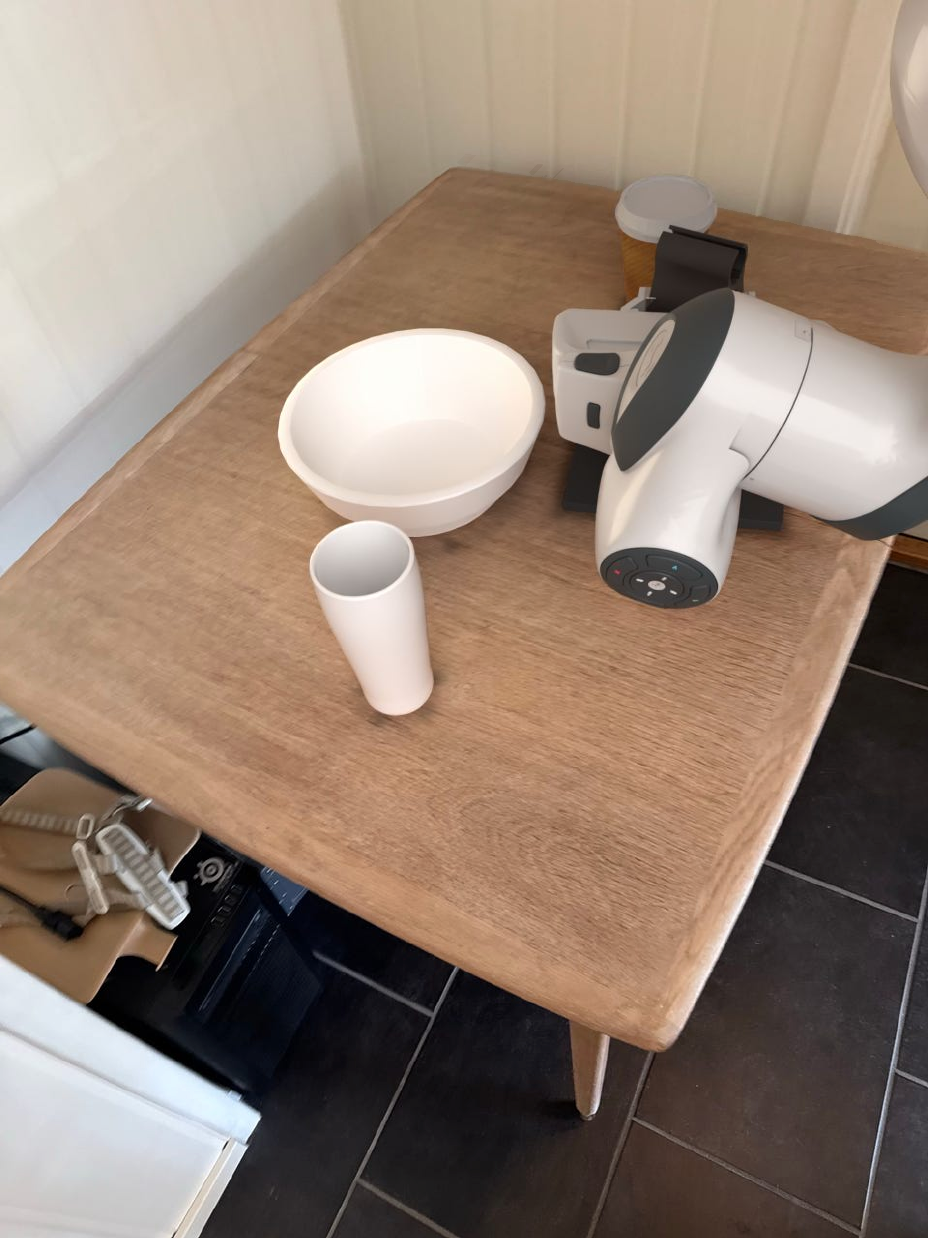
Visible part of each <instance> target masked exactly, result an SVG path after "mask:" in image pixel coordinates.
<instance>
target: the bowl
mask: <svg viewBox="0 0 928 1238" xmlns="http://www.w3.org/2000/svg"><path fill="white" fill-rule="evenodd" d="M544 389H545V388H544V385H543V383H542V381H541V380H540V377H539V375H538V373H537V371H536V369H534V367H533V366H532V365H531V364H530V363H529V362H528V361H527V360H526V359H525V358H524V356H522V355H521V354H520V353H519V352H517V351H515V349H513V348H511V347H510V346H508V345H507V344H505V343H502V342H501V341H498V340H496V339H493V338H492V337H489V336H486V335H482V334H479V333H475V332H471V331H467V330H459V329H452V328H445V327H441V328H440V327H439V328H438V327H437V328H436V327H435V328H430V327H429V328H427V327H425V328H422V327H421V328H412V329H405V330H396V331H392V332H388V333H383V334H379V335H376V336H375V335H374V336H371V337H369V338H366V339H364V340H361V341H358V342H355V343H353V344H350V345H348V346H346V347H344V348H342V349H340V350H339V351H336V352H335V353H333V354H330V355H329V356H328V357H326V358H325V359H323V360H322V361H321V362H320V363H318V364H316V365H315V366H313V367H312V368H311V369H310V370H309V371H308V372H307V373H306V374H305V375H304V376H303V377H302V378H301V379H300V380H299V381H298V382H297V383H296V385H295V386H294V388H292V391H291V392H290V394H289V395H288V396H287V398H286V401H285V403H284V405H283V407H282V409H281V413H280V415H279V421H278V429H277V430H278V431H277V437H278V442H279V448H280V452H281V454H282V456H283V457H284V460H285V461H286V463H287V465H288V467H289V468H290V469H291V470H292V471H293V473H295V475H296V476H297V477H298V478H299V479H300V480H301V482H303V483H304V484H305V485H306V487H308V489H310V491H311V492H312V493H313V494H314V495H315V496H316V497H317V498H318V499H319V500H320V502H322V503H323V504H324V505H325V507H327V508H328V509H330V510H331V511H333V512H334V513H336V514H338V515H339V516H341V517H342V518H344V519H346V520H350V521H352V522H356V521H363V520H377V521H383V522H387V523H390V524H392V525H395V526H397V527H398V528H400V529H401V530H402V531H404V532H405V533H406V534H407V536H408V537H409V538H420V537H429V536H436V535H441V534H443V533H448V532H451V531H454V530H456V529H458V528H461V527H463V526H465V525H467V524H469V523H471V522H472V521H474V520H476V519H477V518H479V517H480V516H482V515H483V514H484V513H485V512H486V511H488V509H489V508H491V507H492V506H493V505H494V503H495V502H496V501H497V500H498V499H499V498H500V497H502V496H503V495H505V493H506V492H508V490H510V489H511V488H512V487H513V485H514V484H515V483H516V482H517V480H518V479H519V477H520V476H521V475H522V474H523V472H524V469H525V467H526V466H527V463H528V462H529V461H528V460H529V459H530V457H531V453H532V451H533V448H534V445H535V444H536V441H537V438H538V436H539V434H540V431H541V429H542V426H543V424H544V420H545V414H546V405H547V402H546V394H545V390H544Z"/></svg>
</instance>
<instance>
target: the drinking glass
mask: <svg viewBox="0 0 928 1238" xmlns="http://www.w3.org/2000/svg"><path fill="white" fill-rule="evenodd" d="M308 568H309V575H310V579H311V580H312V581H311V582H312V584H313V588H314V591H315V595H316V597H317V600H318V603H319V606H320V609H321V611H322V613H323V617H324V618H325V620H326V623H327V625H328V626H329V629H330V630H331V632H332V634H333V637H334V638H335V640H336V641H337V643H338V646H339V647H340V649H341V650H342V652H343V654H344V656H345V658H346V660H347V662H348V664H349V666H350V667H351V668H350V669H352V672H353V674H354V675H355V677H356V679H357V681H358V683H359V685H360V687H361V690H362V692H363V695H364V698H365V699H366V701H367V703H368V704H369V706H371V707H372V708H373V709H374V710H375V711H377V712H379V713H381V714H384V715H387V716H403V715H408V714H411V713H413V712H416V711H417V710H418V709H420V708H421V707H422V706H424V705H425V703H427V702H428V700H429V699H430V697H431V695H432V693H433V690H434V685H435V678H434V672H433V668H432V662H431V652H430V642H429V631H428V618H427V606H426V596H425V595H426V594H425V589H424V583H423V578H422V573H421V569H420V565H419V562H418V558H417V555H416V551H415V549H414V544H413V542H412V540H411V537H408V536H407V534H406V533H405V532H404V531H402V530H401V529H400V528H398V527H397V526H395V525H392V524H390V523H387V522H383V521H377V520H363V521H356V522H355V521H352V522H348V523H346V524H343V525H341V526H338V527H337V528H335V529H333V530H332V531H330V532H329V533H327V534H326V535H325V536H323V538H322V539H320V541H319V542H318V543H317V545H316V546H315V547H314V549H313V551H312V553H311V556H310V559H309V567H308Z"/></svg>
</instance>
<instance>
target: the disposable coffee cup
mask: <svg viewBox="0 0 928 1238" xmlns="http://www.w3.org/2000/svg"><path fill="white" fill-rule="evenodd" d="M717 214H718V204H717V203H716V200H715V194H714V191H713V189H712V188H711V186H709V184H707V183H706V182H704V181H703V180H701V179H699V178H696V177H693V176H689V175H684V174H677V173H673V174H672V173H671V174H670V173H665V174H663V173H662V174H655V175H651V176H646V177H643V178H640V179H637V180H636V181H634V182H632V183H630V184H629V185H628V186H626V187H625V188H624V189H623V190H622V192H621V195H620V198H619V201H618V202H617V204H616V205H615V209H614V216H615V217H614V218H615V220H616V222H617V224H618V228H619V233H620V246H621V255H622V256H621V257H622V269H623V280H624V290H625V291H624V292H625V304H627V303H629V302H630V301H632V300H633V299H635V298H636V297H638V293H639V288H640V287H651V286H652V282H653V277H654V271H655V253H656V248H657V244H658V241H659V239H660V236H661V234H662V232H663V231H666V232H670V233H672V230H671V229H669V225H674V226H678V227H682V228H686V229H690V230H694V231H698V232H702V233H706V234H709V231H710V227H711V226H712V225H713V222H714V221H715V219H716V218H717Z"/></svg>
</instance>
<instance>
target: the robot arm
mask: <svg viewBox="0 0 928 1238" xmlns="http://www.w3.org/2000/svg"><path fill="white" fill-rule="evenodd" d="M889 62H890V63H889V89H890V91H889V93H890V100H891V110H892V115H893V121H894V124H895V129H896V133H897V136H898V139H899V143H900V146H901V149H902V151H903V154H904V156H905V159H906V162H907V163H908V166H909V169H910V170H911V172H912V175H913V177H914V179H915V181H916V182H917V184H918V186H919V188H920V189H921V191H922V193H923V194H924V196H925V197H926V198H927V200H928V0H902V1H901V3H900V6H899V9H898V13H897V16H896V20H895V24H894V30H893V36H892V43H891V48H890V61H889ZM650 291H651V287H640V288H639V293H638V297H636V298H635V299H633V300H632V301H630V302H629V303H625V304H624V305H623V306H620V310H617V309H596V308H595V309H593V308H590V309H589V308H579V307H578V308H577V307H575V308H574V307H571V308H567V309H565V310H563V311H562V312H560V313H557V314H556V316H555V318H554V321H553V326H552V335H551V341H552V342H551V348H552V349H551V366H552V367H551V369H552V390H553V396H554V405H555V406H554V407H555V417H556V423H557V424H556V425H557V430H558V434H559V436H560V437H561V438H562V439H564V440H565V441H569V442H572V443H575V444H576V443H578V444H581V445H584V446H587V447H590V448H593V449H596V450H599V451H601V452H604V453H606V454H609V455H610V457H609V458H608V460H607V462H606V464H605V467H604V470H603V474H602V478H601V483H600V489H599V495H598V503H597V511H596V513H595V524H594V557H595V566H596V569H597V572H598V573H597V574H598V575H599V577H600V579H601V580H602V581H603V582H604V583H605V584H606V585H607V587H608V588H609V589H612V590H613V591H614V592H615V593H617V594H619V595H621V596H622V597H626V598H628V599H630V600H632V601H635V602H639V603H641V604H644V605H646V606H647V605H648V606H650V607H655V608H658V609H663V610H686V609H693V608H696V607H701V606H704V605H705V604H709V603H710V602H711V601H713V600H714V599H715V598H716V597H718V595H719V594H720V593H721V591H722V588H723V587H724V585H725V580H726V578H727V575H728V571H729V568H730V565H731V561H732V556H733V553H734V552H733V551H734V548H735V543H736V537H737V530H738V527H737V525H738V518H739V510H740V501H741V490H742V489H744V490H747V491H749V492H752V493H755V494H757V495H760V496H763V497H765V498H768V499H771V500H773V501H776V502H779V503H781V504H783V506H787V507H788V508H792V509H795V510H797V511H800V512H803V513H805V514H807V515H809V516H811V517H812V518H814V519H815V520H817V521H820V522H822V523H824V524H826V525H828V526H830V527H832V528H835V529H836V530H839V531H840V532H843V533H845V534H846V535H849V536H852V537H854V538H856V539H857V540H860V541H865V542H872V541H874V542H875V541H880V540H882V539H883V540H884V539H887V538H889V537H893V536H896V535H899V534H901V533H905V532H907V531H909V530H911V529H913V528H915V527H918V526H919V525H921V524H923V523H925V522H927V521H928V354H911V353H904V352H898V351H893V350H889V349H887V348H883V347H880V346H878V345H875V344H873V343H870V342H867V341H865V340H862V339H860V338H857V337H855V336H853V335H849V334H847V333H845V332H842V331H839V330H837V329H836V328H835V327H834V326H832V325H830V324H829V323H828V322H827V321H825V320H823V319H822V320H821V319H809V318H808V317H806V316H804V315H802V314H799V313H797V312H794V311H792V310H789V309H786V308H783V307H781V306H778V305H777V304H776V305H775V304H774V303H771V302H768V301H765V300H762V299H760V298H757V297H756V291H754V290H753V291H751V290H750V291H749V290H747V291H745V290H744V291H743V292H742V293H741V292H737V291H734V290H731V289H730V288H721V289H717V290H714V291H710V292H707V293H705V294H702V295H700V296H698V297H696V298H694V299H692V300H690V301H688V302H686V303H685V304H683V305H681V306H679V307H678V308H676V309H674V310H673V311H671V312H670V313H659V312H646V308H647V306H648V305H649V304H651V303H652V302H653V301H654V300H655V299H656V298H654V297H651V296H649V295H650Z"/></svg>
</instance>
